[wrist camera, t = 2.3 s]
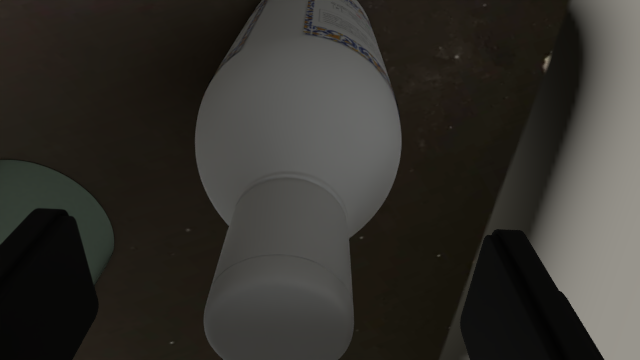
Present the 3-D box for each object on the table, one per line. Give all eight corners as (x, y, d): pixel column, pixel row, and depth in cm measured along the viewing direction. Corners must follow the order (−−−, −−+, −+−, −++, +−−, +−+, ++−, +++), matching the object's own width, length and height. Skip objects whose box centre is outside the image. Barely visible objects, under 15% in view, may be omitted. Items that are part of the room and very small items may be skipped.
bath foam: (268, 112, 28) (176, 451, 11) (231, -6, 24) (12, 224, 7) (381, 88, 27) (473, 417, 10) (360, -38, 24) (446, 140, 7)
